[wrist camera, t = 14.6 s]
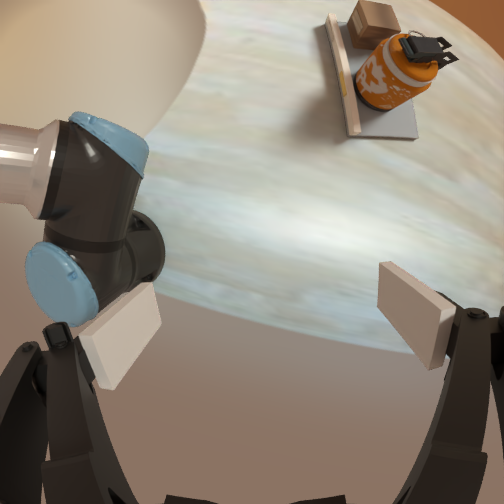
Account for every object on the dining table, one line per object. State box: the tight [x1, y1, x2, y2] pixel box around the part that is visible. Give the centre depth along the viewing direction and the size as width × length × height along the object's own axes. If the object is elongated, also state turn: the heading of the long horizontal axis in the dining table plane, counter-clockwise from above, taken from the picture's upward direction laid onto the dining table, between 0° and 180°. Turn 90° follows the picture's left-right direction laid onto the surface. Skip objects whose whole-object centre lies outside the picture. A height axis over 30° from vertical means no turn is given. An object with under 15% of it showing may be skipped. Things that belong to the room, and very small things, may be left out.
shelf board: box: [325, 14, 419, 139], centre depth 36 cm, size 14×24×4 cm, turn 6°
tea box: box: [347, 0, 401, 50], centre depth 31 cm, size 6×6×9 cm
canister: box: [353, 30, 459, 112], centre depth 28 cm, size 9×11×20 cm
